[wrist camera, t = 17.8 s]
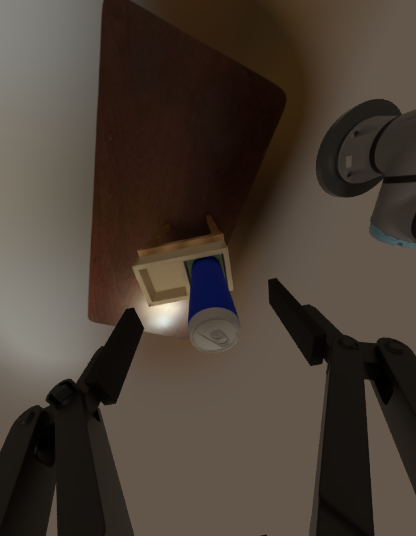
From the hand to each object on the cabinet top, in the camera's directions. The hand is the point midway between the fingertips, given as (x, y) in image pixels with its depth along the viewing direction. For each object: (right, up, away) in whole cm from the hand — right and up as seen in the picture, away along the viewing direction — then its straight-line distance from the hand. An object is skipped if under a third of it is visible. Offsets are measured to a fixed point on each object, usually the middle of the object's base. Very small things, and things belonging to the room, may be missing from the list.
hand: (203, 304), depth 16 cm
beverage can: (0, +4, +13) cm, 14 cm away
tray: (-3, +3, +14) cm, 15 cm away
